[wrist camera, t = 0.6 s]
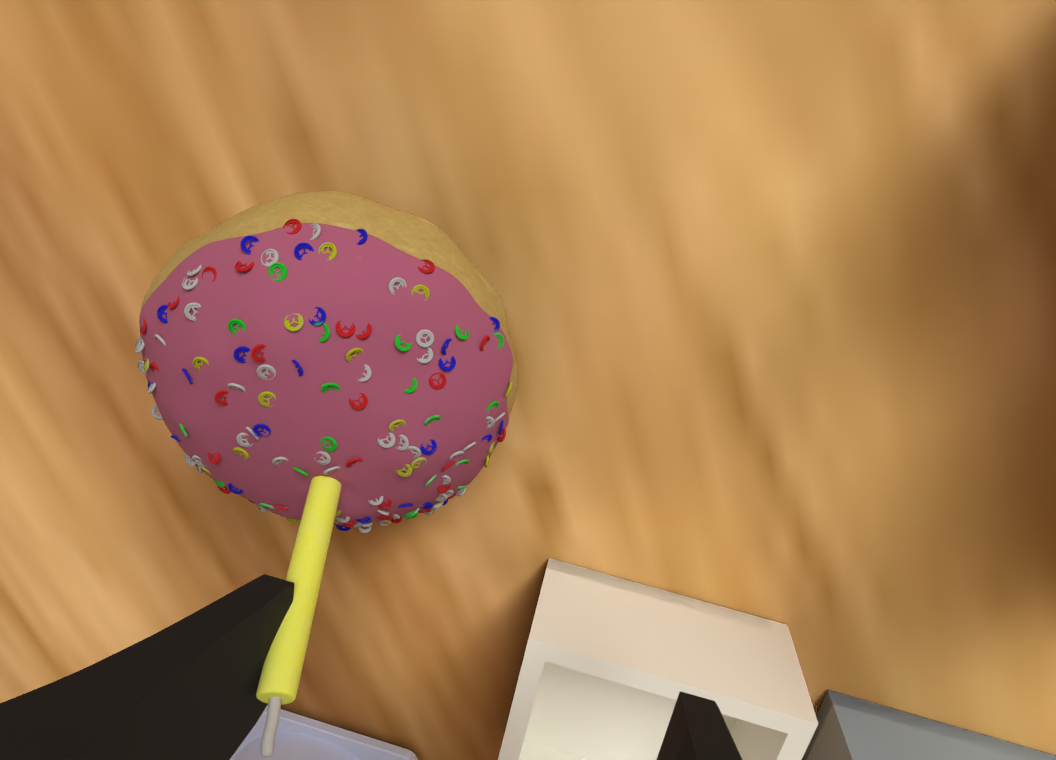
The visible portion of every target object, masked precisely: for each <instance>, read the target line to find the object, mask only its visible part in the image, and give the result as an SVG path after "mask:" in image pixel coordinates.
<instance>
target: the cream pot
mask: <svg viewBox="0 0 1056 760" xmlns="http://www.w3.org/2000/svg"><path fill="white" fill-rule="evenodd" d="M680 691H681V692H685V693H688V694H692V695H695V696H699V697H702V698H706V699H709V700H713V701H715V702H716V704H717V705H718V707H719V709H720V711H721V713H722V716H723V718H724V720H725V722H726V725H727V727H728V729H729V731H730V733H731V736H732V738H733V740H734V742H735V744H736V747H737V749H738V751H739V753H740V755H741V757H742V759H743V760H802V758H803V756H804V753H805V751H806V749H807V747H808V745H809V743H810V741H811V738H812V736H813V734H814V732H815V730H816V728H817V726H818V721H817V718H816V715H815V711H814V708H813V705H812V702H811V699H810V695H809V692H808V689H807V686H806V683H805V679H804V676H803V673H802V670H801V667H800V664H799V660H798V657H797V654H796V651H795V648H794V644H793V641H792V638H791V635H790V632H789V628H788V625H786V624H783V623H779V622H776V621H772V620H768V619H765V618H761V617H758V616H754V615H751V614H747V613H743V612H740V611H736V610H733V609H729V608H726V607H722V606H718V605H715V604H711V603H708V602H704V601H701V600H697V599H694V598H690V597H686V596H683V595H679V594H676V593H672V592H669V591H665V590H661V589H658V588H654V587H651V586H647V585H644V584H640V583H637V582H633V581H629V580H626V579H622V578H619V577H615V576H612V575H608V574H604V573H601V572H597V571H594V570H590V569H587V568H583V567H579V566H576V565H572V564H569V563H565V562H562V561H558V560H555V559H551V558H549V560H548V564H547V568H546V572H545V576H544V579H543V583H542V587H541V591H540V595H539V599H538V603H537V607H536V611H535V615H534V619H533V623H532V627H531V631H530V635H529V639H528V643H527V647H526V650H525V654H524V658H523V662H522V666H521V670H520V674H519V678H518V682H517V686H516V690H515V694H514V698H513V702H512V706H511V710H510V714H509V718H508V722H507V726H506V730H505V734H504V738H503V742H502V746H501V749H500V753H499V757H498V760H657V757H658V754H659V751H660V748H661V745H662V742H663V739H664V736H665V733H666V730H667V727H668V724H669V722H670V719H671V716H672V713H673V710H674V707H675V704H676V701H677V698H678V695H679V692H680Z"/></svg>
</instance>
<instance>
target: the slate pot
mask: <svg viewBox="0 0 1056 760" xmlns="http://www.w3.org/2000/svg"><path fill="white" fill-rule="evenodd" d="M816 718H817V721H818V726H817V728H816V730H815V732H814V734H813V736H812V738H811V741H810V743H809V745H808V747H807V749H806V751H805V753H804V756H803V758H802V760H1056V755H1052V754H1049V753H1045V752H1042V751H1038V750H1035V749H1031V748H1028V747H1025V746H1021V745H1018V744H1014V743H1011V742H1007V741H1004V740H1000V739H997V738H993V737H990V736H986V735H983V734H979V733H976V732H973V731H969V730H966V729H962V728H959V727H955V726H952V725H948V724H945V723H941V722H938V721H934V720H931V719H928V718H924V717H921V716H917V715H914V714H910V713H907V712H903V711H900V710H896V709H893V708H889V707H886V706H883V705H879V704H876V703H872V702H869V701H865V700H862V699H858V698H855V697H851V696H848V695H844V694H841V693H838V692H834V691H831V690H827V693H826V695H825V697H824V699H823V701H822V703H821V705H820V708H819V710H818V712H817V714H816Z"/></svg>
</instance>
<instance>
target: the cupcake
mask: <svg viewBox="0 0 1056 760" xmlns="http://www.w3.org/2000/svg"><path fill="white" fill-rule="evenodd" d="M139 323H140V338H139V339H138V340H137V343H136V346H135V351H136V353H141V352H142V357H143V360H139V361H138V362H137V366H138V368H139V370H140V371H141V372H142V373H143V374H145V375H146V377H147V381H148V390H147V393H148V394H150V393H152V394H153V397H154V399H155V402H156V404H157V405H156V406H154V407H153V408H152V411H151V412H152V415H153V417H154V418H156V419H158V420H164V422H165V424H166V426H167V427H168V429H169V430H170V432H171V433H172V436H171V437H172V438H174V439H176V441H177V442H178V443H179V445H180V446H181V448H182V449H183V450H184V452H185V455H184V458H185V461H186V462H187V464H188V465H190V466H195V465H196V466H197V469H198V471H199V472H200V473H202V470H203V471H204V472H205V473H206V474H207V475H209V476H210V477H211V478H213V479H214V481H215V482H216V484H217V485H218V488H219V489H220V491H222V492H223V493H226V494H229V493H231V492H233V493H235V494H239V495H241V496H242V497H244V498H246V499H248V500H249V501H250V502H252V503H255V504H256V505H257V506H258V507H259V509H260V510H261V511H262V512H263V513H265V512H266V511H267V510H269V511H271V512H273V513H276V514H278V515H281V516H284V517H287V519H288V521H290V522H292V523H300V526H299V530H298V534H297V538H296V541H295V545H294V549H293V553H292V557H291V561H290V565H289V568H288V572H287V576H286V581H290V582H293V583H294V596H293V602H292V604H291V606H290V608H289V610H288V612H287V614H286V615H285V617H284V619H283V621H282V623H281V626H280V628H279V630H278V632H277V634H276V636H275V638H274V640H273V643H272V645H271V647H270V649H269V652H268V654H267V657H266V659H265V662H264V665H263V669H262V672H261V676H260V680H259V684H258V688H257V692H256V697H257V699H258V700H260V701H262V702H264V703H268V711H267V717H266V723H265V727H264V731H263V735H262V740H261V756H262V757H270V756H272V754H273V749H274V740H275V735H276V731H277V727H278V722H279V716H280V709H281V705H282V704H288V703H291V702H293V701H294V700H295V698H296V695H297V691H298V686H299V682H300V677H301V672H302V668H303V663H304V659H305V654H306V649H307V645H308V640H309V635H310V631H311V626H312V622H313V617H314V612H315V608H316V603H317V598H318V594H319V589H320V585H321V580H322V575H323V571H324V566H325V561H326V557H327V552H328V548H329V543H330V538H331V534H332V529H333V525H336V527H337V528H338V529H339V530H342V531H347V530H349V529H351V527H358V530H359V531H360V532H361V533H367V532H369V531H370V530H371V528H372V524H373V523H379V524H380V525H383V526H387V525H389V524H390V523H391V522H393V523H399V522H401V520H402V516H404V518H405V519H411V518H414V517H416V516H417V513H418V512H419V513H425V514H431V513H432V512H433V511H434V510H437V509H439V508H440V507H441V506H442V505H445V504H446V503H447V501H448V499H450V498H452V497H454V496H455V495H458V496H462V495H463V494H464V493H465V491H466V486H467V485H468V484H469V483H470V482H471V481H472V480H473V479H474V478H475V477H476V476H477V474H478V473H479V472H480V470H481V469H482V467H483V466H484V465H485V467H487V466H488V462H489V457H490V455H491V454H492V452H493V450H494V449H495V447H496V445H497V443H498V442H502V441H503V440H504V438H505V435H506V430H505V429H506V427H507V425H508V422H509V414H510V412H511V409H512V406H513V403H514V400H515V396H516V392H517V383H518V372H517V364H516V358H515V352H514V347H513V343H512V340H511V337H510V333H509V328H508V322H507V316H506V310H505V307H504V304H503V301H502V299H501V298H500V296H499V294H498V293H497V291H496V290H495V289H494V288H493V286H492V285H491V284H490V283H489V282H488V280H487V279H486V278H485V277H484V276H483V275H482V274H481V272H480V271H479V270H478V269H477V268H476V267H475V266H474V265H473V264H472V263H471V262H470V261H469V260H468V258H467V257H466V256H465V255H464V254H463V252H462V251H461V250H460V249H459V248H458V247H457V246H456V244H455V243H454V242H453V241H452V240H451V239H450V238H449V237H448V236H447V235H446V234H445V233H444V232H443V231H442V230H441V229H440V228H438V227H437V226H435V225H434V224H432V223H431V222H429V221H427V220H425V219H423V218H421V217H418V216H415V215H412V214H408V213H404V212H401V211H398V210H395V209H392V208H389V207H387V206H384V205H382V204H379V203H377V202H374V201H371V200H369V199H366V198H363V197H360V196H358V195H355V194H351V193H347V192H340V191H317V192H302V193H296V194H291V195H287V196H284V197H280V198H277V199H274V200H271V201H268V202H265V203H262V204H259V205H256V206H254V207H251V208H249V209H247V210H245V211H243V212H241V213H239V214H237V215H235V216H233V217H232V218H230V219H228V220H226V221H225V222H223V223H221V224H220V225H218V226H216V227H215V228H213V229H211V230H210V231H208V232H207V233H205V234H203V235H201V236H198V237H195V238H193V239H191V240H189V241H188V242H186V243H185V244H184V245H182V246H181V247H180V248H179V249H178V250H177V251H176V252H175V254H174V255H173V256H172V257H171V258H170V259H169V260H168V262H167V263H166V264H165V265H164V267H163V268H162V269H161V270H160V272H159V273H158V275H157V276H156V277H155V279H154V281H153V282H152V284H151V286H150V288H149V289H148V291H147V293H146V295H145V298H144V301H143V304H142V307H141V313H140V321H139ZM140 342H141V343H140ZM139 345H140V346H139ZM138 347H139V348H138ZM142 364H143V365H144V366H143V365H142ZM141 366H142V367H143V368H144V370H143V369H142V367H141ZM156 409H159V411H158V410H156ZM156 412H158V413H159V415H157V414H156ZM501 436H502V438H501ZM188 458H189V459H190V461H189V460H188ZM191 460H192V461H193V462H192V461H191ZM223 487H224V488H225V489H226V490H224V489H223ZM226 487H227V488H228V490H227V488H226ZM461 489H463V491H462V492H461ZM459 490H460V491H459ZM455 493H456V494H455ZM292 519H295V520H292ZM394 519H396V520H394ZM384 522H386V523H384ZM361 526H364V530H363V529H362V528H361ZM342 527H346V528H342ZM365 527H368V529H366V530H365Z"/></svg>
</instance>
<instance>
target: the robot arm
mask: <svg viewBox="0 0 1056 760" xmlns="http://www.w3.org/2000/svg"><path fill="white" fill-rule="evenodd" d="M293 596H294V583H293V582H290V581H286V580H283V579H279V578H276V577H272V576H268V575H265V574H264V575H262V576H260V577H258V578H256V579H255V580H253V581H251V582H249V583H247V584H245V585H244V586H242V587H240V588H238V589H236V590H235V591H233V592H231V593H229V594H227V595H226V596H224V597H222V598H220V599H218V600H217V601H215V602H213V603H211V604H209V605H208V606H206V607H204V608H202V609H200V610H199V611H197V612H195V613H193V614H191V615H190V616H188V617H186V618H184V619H182V620H180V621H178V622H177V623H175V624H173V625H171V626H169V627H167V628H165V629H163V630H162V631H160V632H158V633H156V634H154V635H152V636H150V637H148V638H146V639H144V640H142V641H140V642H138V643H136V644H134V645H132V646H130V647H128V648H126V649H124V650H122V651H120V652H118V653H116V654H113V655H111V656H109V657H107V658H105V659H103V660H101V661H99V662H97V663H95V664H93V665H91V666H89V667H87V668H84V669H82V670H80V671H78V672H76V673H73V674H71V675H69V676H66V677H64V678H62V679H60V680H57V681H55V682H53V683H50V684H48V685H45V686H43V687H40V688H38V689H35V690H33V691H30V692H28V693H26V694H23V695H21V696H18V697H16V698H13V699H11V700H8V701H5V702H3V703H0V760H418V758H417V756H416V755H415V754H414V753H413V752H412V751H410V750H408V749H405V748H402V747H399V746H396V745H393V744H389V743H386V742H383V741H380V740H377V739H374V738H371V737H367V736H364V735H361V734H358V733H355V732H352V731H349V730H345V729H342V728H339V727H336V726H333V725H330V724H327V723H323V722H320V721H317V720H314V719H311V718H308V717H305V716H301V715H298V714H295V713H292V712H289V711H286V710H283V709H280V716H279V722H278V727H277V731H276V735H275V740H274V749H273V754H272V756H270V757H262V756H261V740H262V735H263V731H264V727H265V723H266V717H267V711H268V703H264V702H262V701H260V700H258V699H257V697H256V692H257V688H258V684H259V680H260V676H261V672H262V669H263V665H264V662H265V659H266V657H267V654H268V652H269V649H270V647H271V645H272V643H273V640H274V638H275V636H276V634H277V632H278V630H279V628H280V626H281V623H282V621H283V619H284V617H285V615H286V614H287V612H288V610H289V608H290V606H291V604H292V602H293ZM657 760H743V759H742V757H741V755H740V753H739V751H738V749H737V747H736V744H735V742H734V740H733V738H732V736H731V733H730V731H729V729H728V727H727V725H726V722H725V720H724V718H723V716H722V713H721V711H720V709H719V707H718V705H717V704H716V702H715V701H713V700H709V699H706V698H702V697H699V696H695V695H692V694H688V693H685V692H681V691H680V692H679V695H678V698H677V701H676V704H675V707H674V710H673V713H672V716H671V719H670V722H669V724H668V727H667V730H666V733H665V736H664V739H663V742H662V745H661V748H660V751H659V754H658V757H657Z"/></svg>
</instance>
